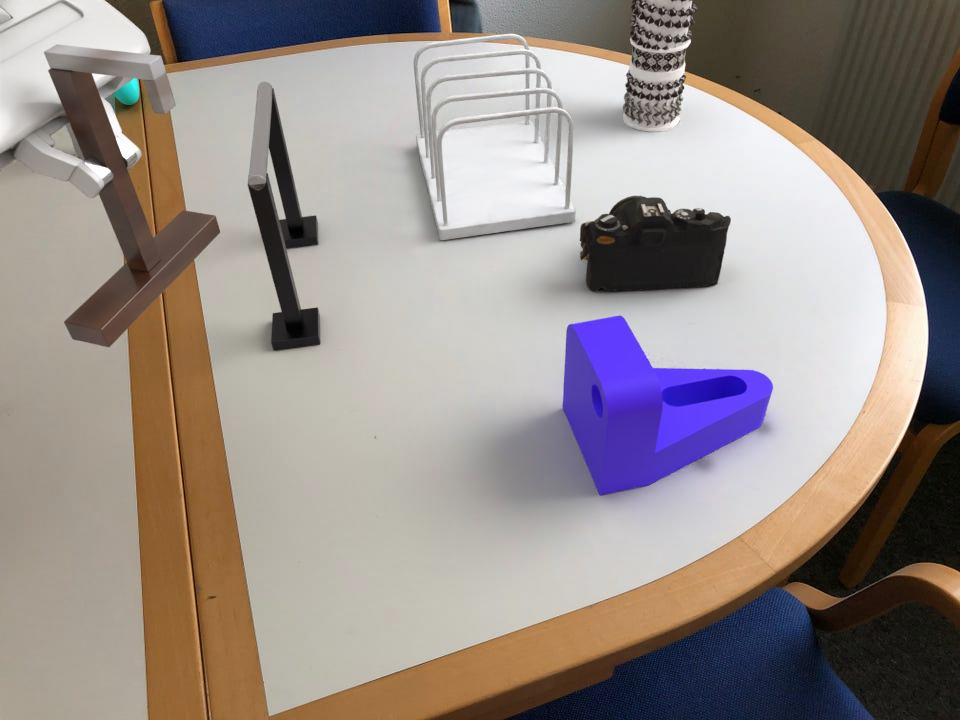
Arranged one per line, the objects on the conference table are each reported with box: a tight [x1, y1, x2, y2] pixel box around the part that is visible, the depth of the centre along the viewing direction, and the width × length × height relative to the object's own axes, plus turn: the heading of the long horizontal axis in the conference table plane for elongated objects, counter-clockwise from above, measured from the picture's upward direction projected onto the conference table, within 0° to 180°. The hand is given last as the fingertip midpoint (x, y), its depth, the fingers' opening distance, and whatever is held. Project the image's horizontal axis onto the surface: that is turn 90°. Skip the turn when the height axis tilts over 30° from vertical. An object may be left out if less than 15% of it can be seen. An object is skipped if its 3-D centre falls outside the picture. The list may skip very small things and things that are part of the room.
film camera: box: [579, 195, 732, 292], centre depth 89 cm, size 18×12×10 cm
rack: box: [247, 81, 321, 351], centre depth 87 cm, size 5×24×20 cm, turn 9°
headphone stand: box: [44, 44, 221, 348], centre depth 51 cm, size 8×14×17 cm, turn 162°
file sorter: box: [413, 33, 577, 241], centre depth 103 cm, size 25×17×16 cm
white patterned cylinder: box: [622, 0, 698, 133], centre depth 112 cm, size 9×9×25 cm
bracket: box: [562, 315, 774, 496], centre depth 70 cm, size 18×11×12 cm, turn 103°
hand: (118, 176), depth 52 cm, fingers closed on headphone stand
